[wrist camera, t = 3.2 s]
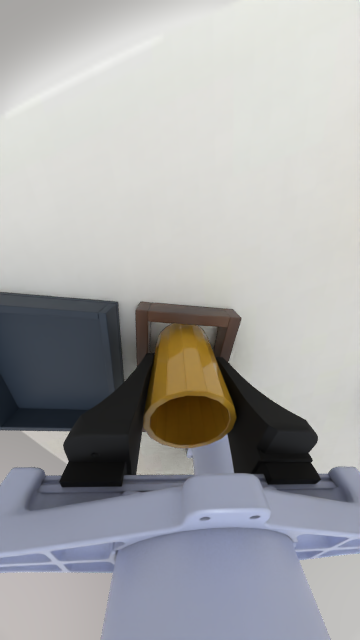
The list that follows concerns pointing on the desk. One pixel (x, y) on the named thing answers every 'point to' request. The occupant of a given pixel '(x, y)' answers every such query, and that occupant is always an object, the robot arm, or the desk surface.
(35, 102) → the desk surface
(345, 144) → the desk surface
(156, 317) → the frame
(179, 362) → the cup
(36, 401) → the dark blue tray
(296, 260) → the desk surface
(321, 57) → the desk surface
